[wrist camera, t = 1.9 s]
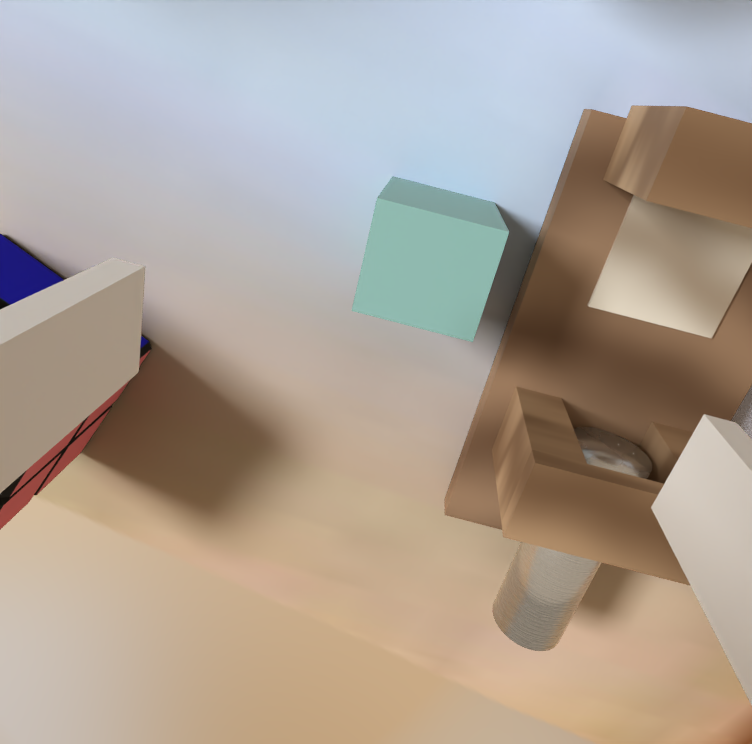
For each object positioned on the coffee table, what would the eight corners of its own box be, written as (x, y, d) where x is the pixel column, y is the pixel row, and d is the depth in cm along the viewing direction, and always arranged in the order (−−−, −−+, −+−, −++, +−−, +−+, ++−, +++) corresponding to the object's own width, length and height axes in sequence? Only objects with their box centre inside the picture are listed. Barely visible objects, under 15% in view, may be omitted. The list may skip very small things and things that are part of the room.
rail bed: (637, 548, 35) (690, 673, 27) (444, 498, 35) (444, 610, 27) (855, 166, 25) (1034, 194, 18) (588, 96, 25) (651, 94, 18)
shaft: (554, 601, 35) (566, 658, 31) (490, 585, 35) (495, 640, 31) (637, 438, 30) (664, 484, 26) (562, 419, 30) (579, 462, 26)
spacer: (392, 176, 28) (377, 197, 21) (494, 202, 28) (509, 232, 21) (371, 266, 29) (351, 310, 23) (466, 291, 29) (472, 341, 23)
